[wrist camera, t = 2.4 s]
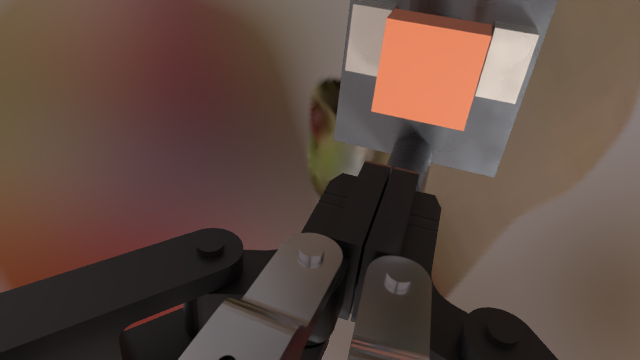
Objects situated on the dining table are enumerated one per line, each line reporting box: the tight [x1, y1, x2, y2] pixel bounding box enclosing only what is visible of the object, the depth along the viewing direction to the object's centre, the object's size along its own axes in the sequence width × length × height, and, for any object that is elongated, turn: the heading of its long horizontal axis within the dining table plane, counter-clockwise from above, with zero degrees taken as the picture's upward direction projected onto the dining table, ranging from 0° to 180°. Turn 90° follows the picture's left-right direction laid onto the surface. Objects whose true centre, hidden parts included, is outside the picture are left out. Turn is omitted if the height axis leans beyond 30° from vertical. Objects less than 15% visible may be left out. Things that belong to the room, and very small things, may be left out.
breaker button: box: [371, 8, 492, 131], centre depth 23 cm, size 4×4×4 cm
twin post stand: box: [334, 0, 558, 314], centre depth 21 cm, size 16×10×15 cm, turn 175°
